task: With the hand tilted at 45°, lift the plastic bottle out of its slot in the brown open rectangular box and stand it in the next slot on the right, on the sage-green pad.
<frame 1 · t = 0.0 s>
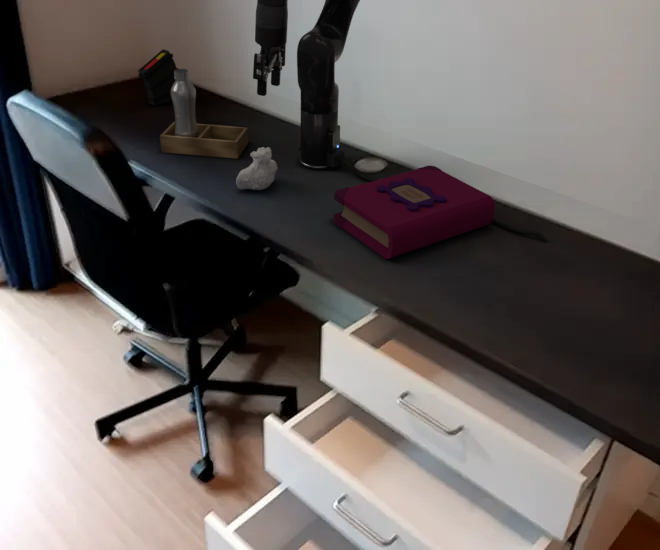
hand: (268, 90, 177), 17 cm above the table, tool pointing down, fingers open, 8 cm apart
book: (410, 225, 156), on the table
brown open rectangular box: (205, 147, 190), on the table
magazine: (163, 102, 220), on the table
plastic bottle: (187, 146, 190), resting in brown open rectangular box
bust: (259, 188, 170), on the table
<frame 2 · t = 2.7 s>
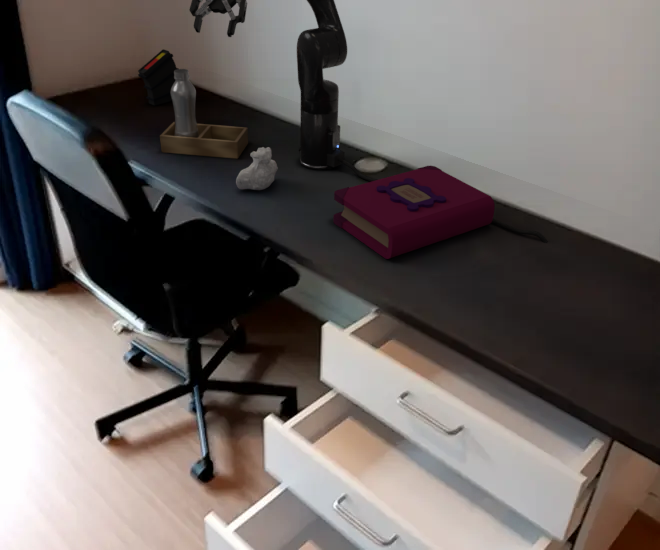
hand: (213, 33, 185), 27 cm above the table, tool tilted 40°, fingers open, 8 cm apart
nothing on the table moved.
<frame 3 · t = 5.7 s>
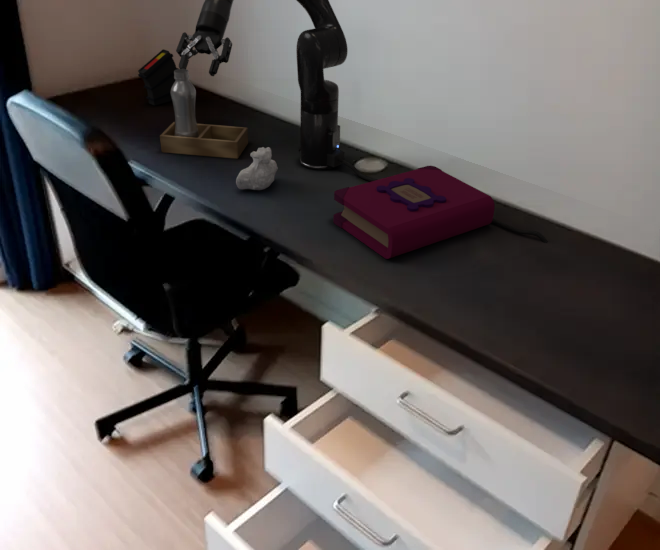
hand: (196, 72, 187), 18 cm above the table, tool tilted 45°, fingers open, 8 cm apart
nothing on the table moved.
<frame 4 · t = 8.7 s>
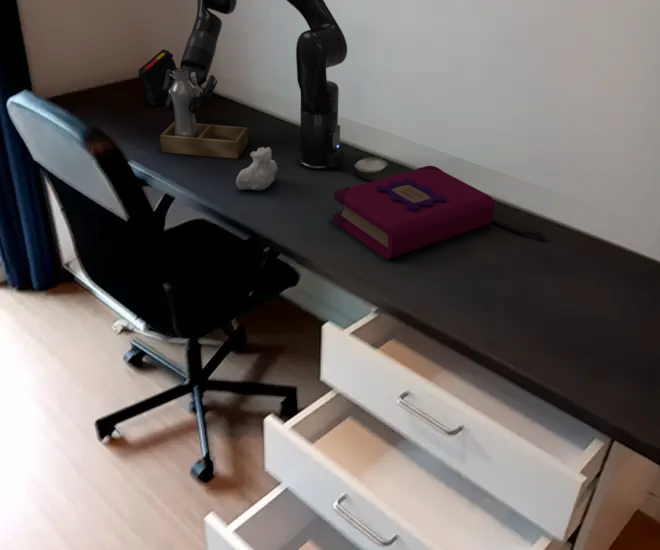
hand: (181, 110, 183), 10 cm above the table, tool tilted 45°, fingers closed on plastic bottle, 6 cm apart
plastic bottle: (187, 146, 190), resting in brown open rectangular box, touching gripper
everything else where it was.
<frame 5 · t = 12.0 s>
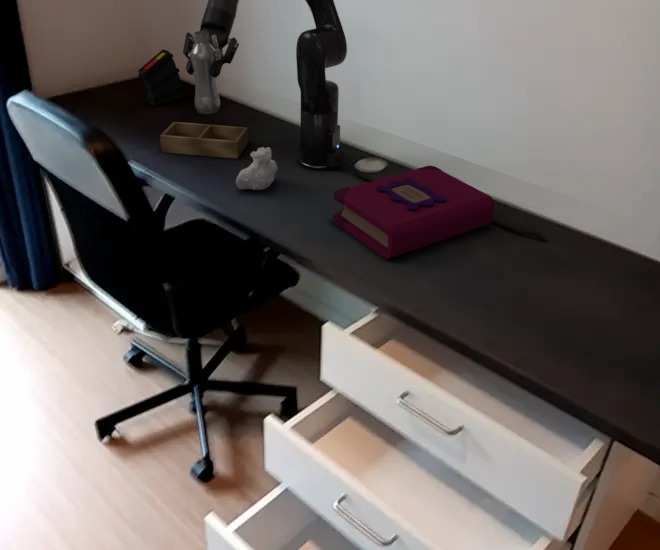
hand: (201, 74, 177), 20 cm above the table, tool tilted 45°, fingers closed on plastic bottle, 6 cm apart
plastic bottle: (208, 113, 184), point 10 cm above the table, touching gripper
everything else where it was.
when the fingers open (11 cm above the table, at t = 15.7 s): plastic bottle stays where it is, resting on brown open rectangular box.
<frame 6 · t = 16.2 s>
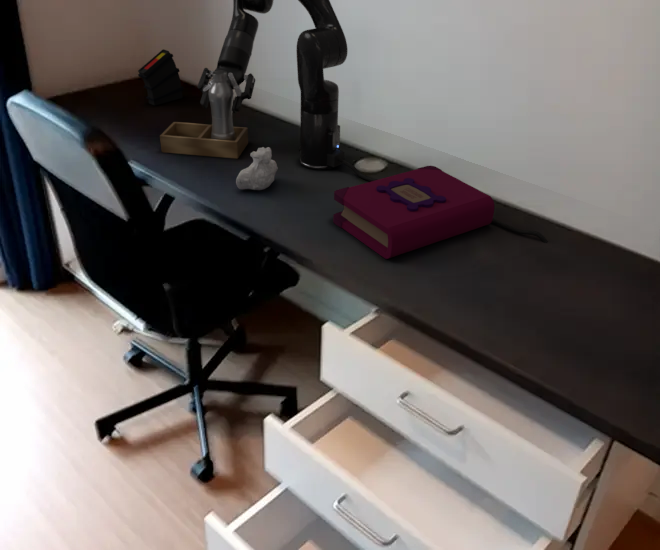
hand: (218, 109, 182), 11 cm above the table, tool tilted 45°, fingers open, 8 cm apart
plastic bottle: (224, 149, 189), resting on brown open rectangular box
everything else where it was.
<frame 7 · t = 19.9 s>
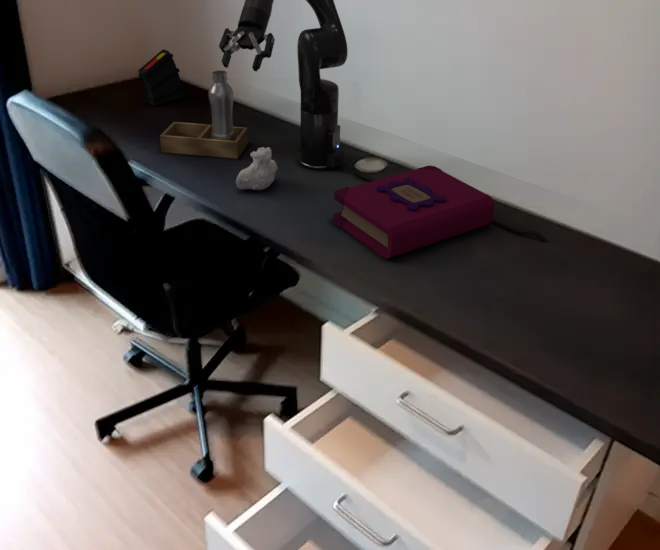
hand: (239, 67, 189), 18 cm above the table, tool tilted 45°, fingers open, 8 cm apart
nothing on the table moved.
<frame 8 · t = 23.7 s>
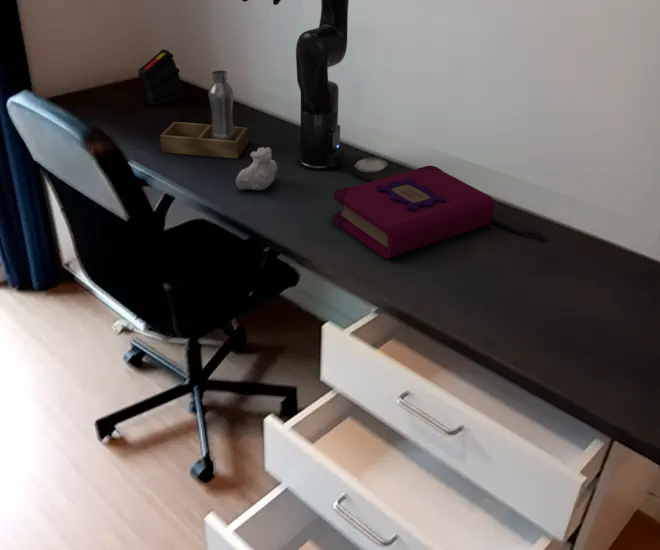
hand: (260, 2, 184), 34 cm above the table, tool pointing down, fingers open, 8 cm apart
nothing on the table moved.
at the end: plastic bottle 0.3 cm from the target spot on the brown open rectangular box, point 0.0 cm above the brown open rectangular box's base; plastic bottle tilted 0°; the gripper is holding nothing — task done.
